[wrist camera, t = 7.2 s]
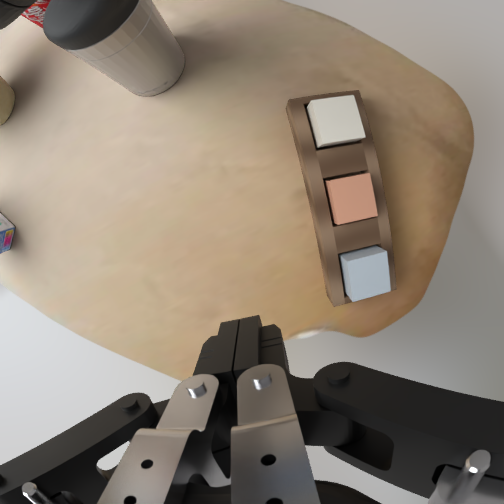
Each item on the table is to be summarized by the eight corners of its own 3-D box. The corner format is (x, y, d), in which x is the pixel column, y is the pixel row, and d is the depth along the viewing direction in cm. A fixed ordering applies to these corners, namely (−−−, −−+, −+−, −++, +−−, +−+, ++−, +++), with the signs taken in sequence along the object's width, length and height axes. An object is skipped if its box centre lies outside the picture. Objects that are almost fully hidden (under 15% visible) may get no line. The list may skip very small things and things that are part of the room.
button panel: (285, 108, 34) (288, 99, 30) (349, 98, 33) (358, 90, 29) (327, 295, 39) (333, 306, 35) (384, 279, 39) (396, 289, 35)
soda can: (47, 40, 31) (7, 19, 19) (52, 13, 29) (17, -10, 17) (78, 24, 30) (40, -4, 19) (82, -3, 29) (49, -32, 17)
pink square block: (322, 181, 34) (329, 180, 31) (359, 173, 34) (369, 172, 31) (330, 221, 35) (338, 224, 32) (367, 212, 35) (377, 215, 32)
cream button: (306, 108, 31) (311, 100, 28) (345, 102, 31) (353, 94, 27) (316, 148, 32) (323, 144, 29) (355, 141, 32) (365, 137, 28)
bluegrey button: (339, 254, 35) (347, 261, 32) (375, 245, 35) (386, 251, 31) (344, 291, 36) (352, 301, 33) (380, 282, 36) (390, 291, 32)
